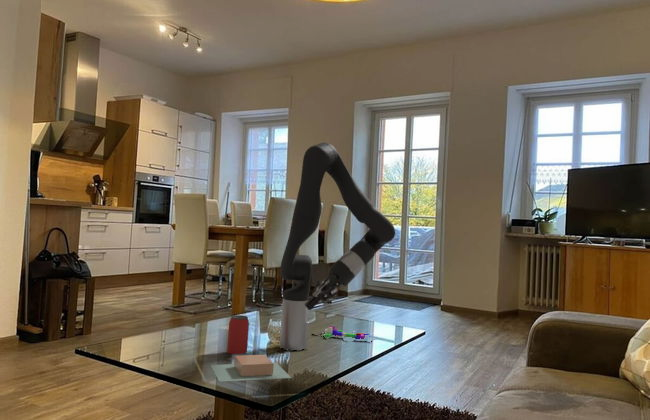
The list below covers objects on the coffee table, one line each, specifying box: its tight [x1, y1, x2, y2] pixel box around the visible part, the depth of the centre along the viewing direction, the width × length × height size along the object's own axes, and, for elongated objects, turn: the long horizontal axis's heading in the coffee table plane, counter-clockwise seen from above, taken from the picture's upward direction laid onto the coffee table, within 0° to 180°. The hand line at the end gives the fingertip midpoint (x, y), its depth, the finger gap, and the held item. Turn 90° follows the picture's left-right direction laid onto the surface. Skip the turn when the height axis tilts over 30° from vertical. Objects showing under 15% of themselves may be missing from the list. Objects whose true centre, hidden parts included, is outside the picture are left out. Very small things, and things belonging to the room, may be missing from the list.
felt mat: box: [209, 362, 293, 383], centre depth 134 cm, size 20×16×1 cm
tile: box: [233, 354, 274, 377], centre depth 135 cm, size 3×10×9 cm
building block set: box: [323, 325, 369, 339], centre depth 195 cm, size 25×20×4 cm
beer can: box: [226, 314, 250, 355], centre depth 156 cm, size 7×7×12 cm
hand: (307, 307), depth 142 cm, fingers closed
